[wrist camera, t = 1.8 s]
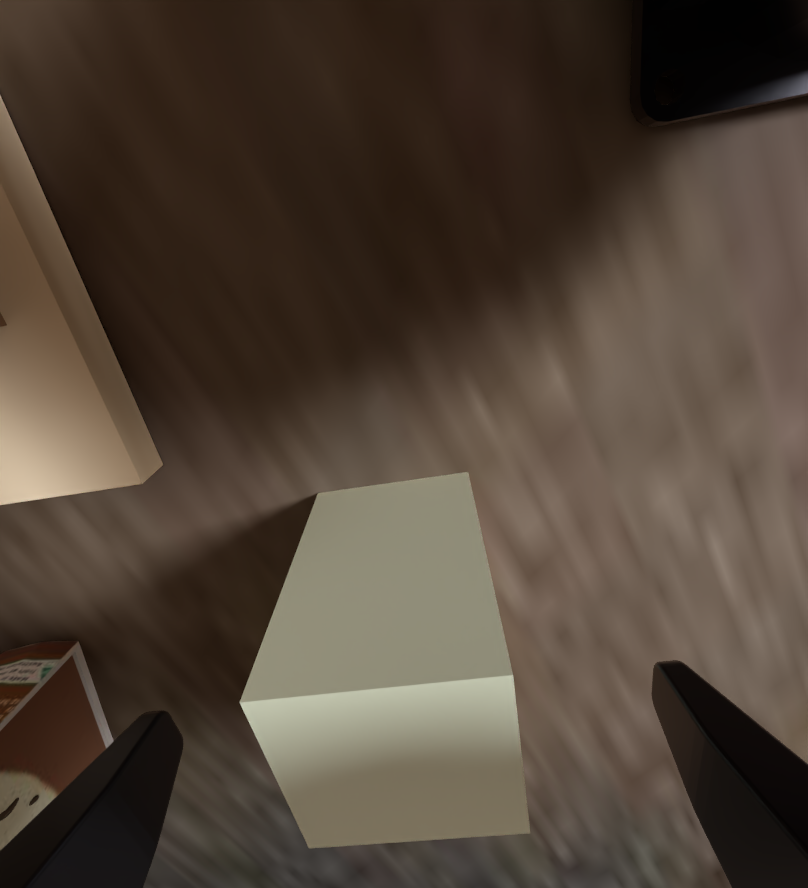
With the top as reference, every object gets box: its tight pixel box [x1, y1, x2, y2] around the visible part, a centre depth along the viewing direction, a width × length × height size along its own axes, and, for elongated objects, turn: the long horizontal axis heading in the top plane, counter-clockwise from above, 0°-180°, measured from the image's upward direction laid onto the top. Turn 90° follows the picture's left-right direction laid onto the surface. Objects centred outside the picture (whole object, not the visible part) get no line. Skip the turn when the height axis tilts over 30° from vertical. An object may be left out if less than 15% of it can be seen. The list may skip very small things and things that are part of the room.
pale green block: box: [240, 472, 530, 848], centre depth 10 cm, size 4×4×6 cm
